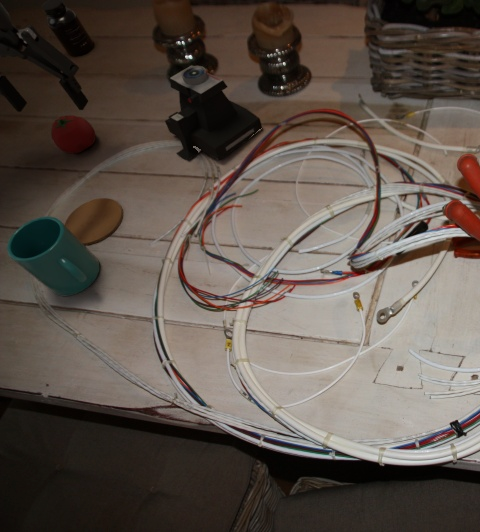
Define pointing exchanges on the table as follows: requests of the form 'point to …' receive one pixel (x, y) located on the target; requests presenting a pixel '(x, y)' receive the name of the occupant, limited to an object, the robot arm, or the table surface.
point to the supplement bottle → (67, 28)
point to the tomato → (72, 134)
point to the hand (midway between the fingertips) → (53, 106)
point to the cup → (53, 256)
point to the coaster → (95, 220)
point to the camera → (208, 115)
